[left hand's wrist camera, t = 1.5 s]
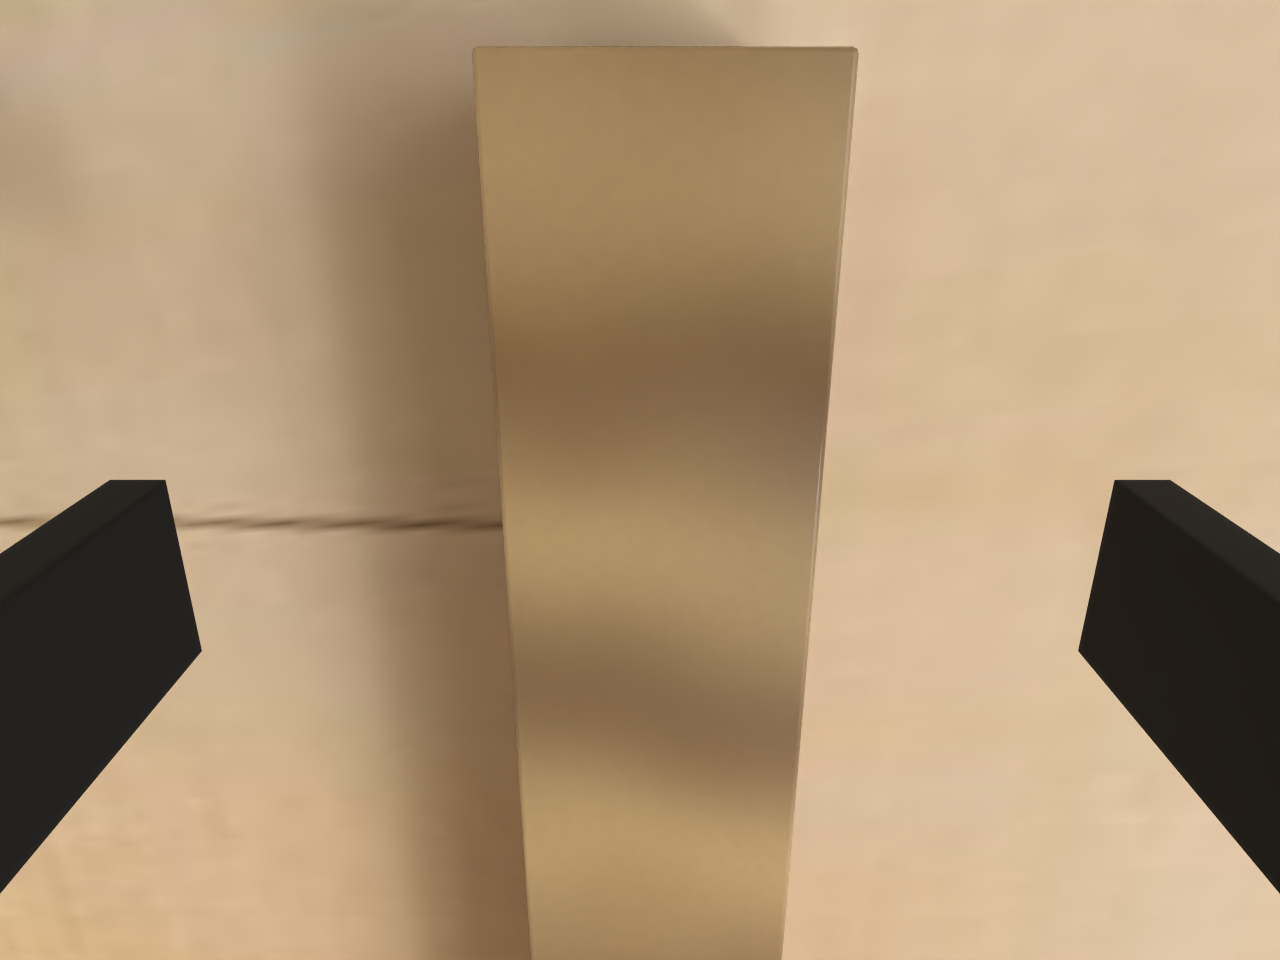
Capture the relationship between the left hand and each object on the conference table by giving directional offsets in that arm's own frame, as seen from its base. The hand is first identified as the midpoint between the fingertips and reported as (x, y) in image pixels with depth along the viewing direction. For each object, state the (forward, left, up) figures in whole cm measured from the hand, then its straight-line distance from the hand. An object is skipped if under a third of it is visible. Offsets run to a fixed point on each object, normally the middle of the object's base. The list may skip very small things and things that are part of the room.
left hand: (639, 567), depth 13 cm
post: (+19, +14, -10) cm, 26 cm away
